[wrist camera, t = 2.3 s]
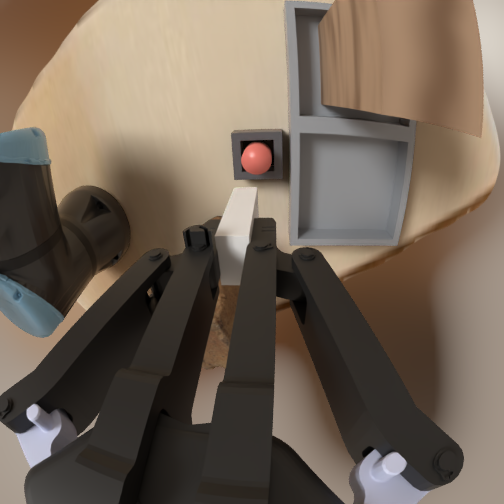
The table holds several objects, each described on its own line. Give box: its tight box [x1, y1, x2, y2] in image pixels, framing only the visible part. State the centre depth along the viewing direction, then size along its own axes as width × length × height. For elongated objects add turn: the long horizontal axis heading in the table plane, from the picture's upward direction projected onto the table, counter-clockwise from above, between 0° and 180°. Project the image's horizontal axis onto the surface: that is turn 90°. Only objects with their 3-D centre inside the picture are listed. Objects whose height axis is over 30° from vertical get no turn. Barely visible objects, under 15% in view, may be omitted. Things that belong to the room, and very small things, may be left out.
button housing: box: [231, 129, 283, 180], centre depth 33 cm, size 6×6×3 cm
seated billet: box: [318, 0, 483, 138], centre depth 17 cm, size 8×11×20 cm
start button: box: [241, 141, 272, 175], centre depth 31 cm, size 3×3×4 cm
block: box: [202, 216, 240, 369], centre depth 33 cm, size 11×8×20 cm
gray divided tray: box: [284, 1, 416, 246], centre depth 29 cm, size 16×32×4 cm, turn 3°
